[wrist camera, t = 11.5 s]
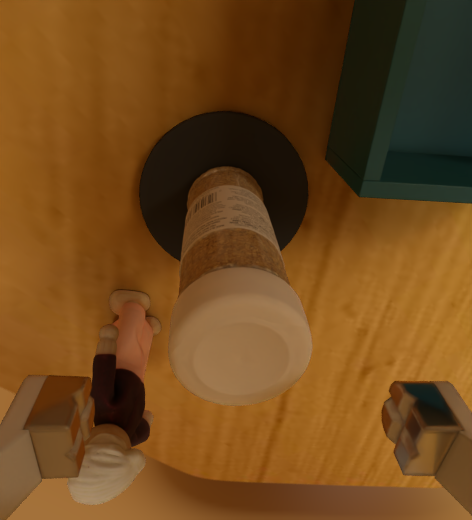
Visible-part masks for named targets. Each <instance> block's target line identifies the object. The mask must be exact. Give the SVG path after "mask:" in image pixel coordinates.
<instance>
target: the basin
mask: <svg viewBox="0 0 472 520" xmlns="http://www.w3.org/2000/svg"><path fill="white" fill-rule="evenodd" d="M325 160H326V161H327V162H328V163H329V164H330V165H331V166H332V167H333V169H334V170H335V171H336V172H337V173H338V174H339V175H340V176H341V177H342V179H343V180H344V181H345V182H346V183H347V184H348V185H349V186H350V187H351V188H352V190H353V191H354V192H355V193H356V194H357V195H358V196H359V197H367V198H385V199H402V200H420V201H438V202H455V203H472V0H355V2H354V8H353V13H352V18H351V24H350V29H349V34H348V39H347V45H346V50H345V55H344V61H343V66H342V71H341V77H340V82H339V87H338V93H337V98H336V103H335V109H334V114H333V119H332V124H331V130H330V135H329V140H328V146H327V151H326V156H325Z"/></svg>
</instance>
